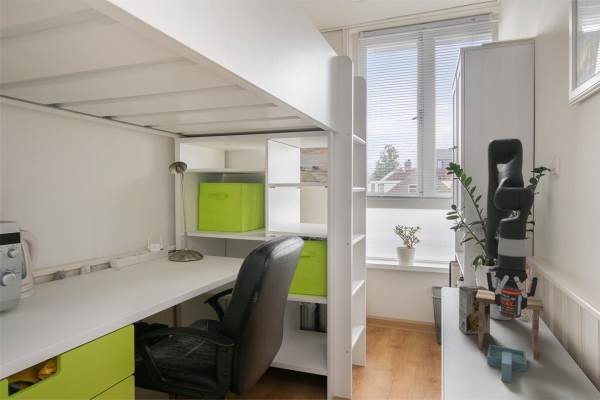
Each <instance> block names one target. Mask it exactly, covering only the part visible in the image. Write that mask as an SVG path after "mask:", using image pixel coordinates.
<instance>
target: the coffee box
mask: <svg viewBox="0 0 600 400" xmlns="http://www.w3.org/2000/svg"><path fill="white" fill-rule="evenodd" d="M458 288H459V291H458V293H459V295H458V296H459V297H458V299H459V302H458V306H459V307H458V329H459V330H461V331H462V332H463V333H464V334H465V335H473V334H474V335H477V334H478V322H479V302H476V295H477V292H478V290H486V291H489V290H488V288H486V287H485V286H482V285H478V286H477V285H474V286H472V285H470V286H467V285H466V286H464V285H463V286H459V287H458ZM485 334H488V335H489V334H491V317H490V304H488V303H485V313H484V335H485Z"/></svg>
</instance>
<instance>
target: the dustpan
mask: <svg viewBox="0 0 600 400" xmlns="http://www.w3.org/2000/svg"><path fill="white" fill-rule="evenodd" d="M486 362H487V364H486V365H489V366H495V367H499V368H501V374H500V375H501V377H500V380H501V381H502V382H505V383H506V382H507V383H512V370H514V371H519V372H523V373H527V367H528V366H527V365H528V364H527V351H526V350H521V349H518V348H517V349H516V348H510V347H506V346H501V345H494V344H490V343H489V345H488V351H487V361H486Z"/></svg>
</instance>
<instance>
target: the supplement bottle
mask: <svg viewBox="0 0 600 400" xmlns="http://www.w3.org/2000/svg"><path fill="white" fill-rule="evenodd" d="M522 310H523V309H522V291H521V290H520V289H519V288H518V286H517V283H516V282H515V280H507V282H506V283H505V285H504V287H503V288H502V289H501V291H500V314H501V315H503V316H505V317H509V318H512V319H520V318H521V317H522Z"/></svg>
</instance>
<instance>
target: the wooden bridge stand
mask: <svg viewBox="0 0 600 400" xmlns="http://www.w3.org/2000/svg"><path fill="white" fill-rule="evenodd" d="M522 296H523V295H522ZM542 300H543V299H542V297H541V296H536V295H534V296H533V297H532V296H530V297H528V298H527V308H524V310H525V309H526V310H531V311H532V316H531V317H532V322H531V323H532V324H531V326H532V327H531V328H532V329H531V350H532V352H531V353H532V359H533V360H537V361H538V360H539V337H540V335H539V333H540V332H539V331H540V330H539V328H540V312H543V311H544V305H543V304H544V303H543V301H542ZM476 302H479V322H478V335H477V349H479V350H480V349H483V345H484V344H483V343H484V338H485V334H484V313H485V303H488V304H495V293H494V292H492V291H486V290H478V292H477V295H476ZM495 305H497V304H495Z"/></svg>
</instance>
